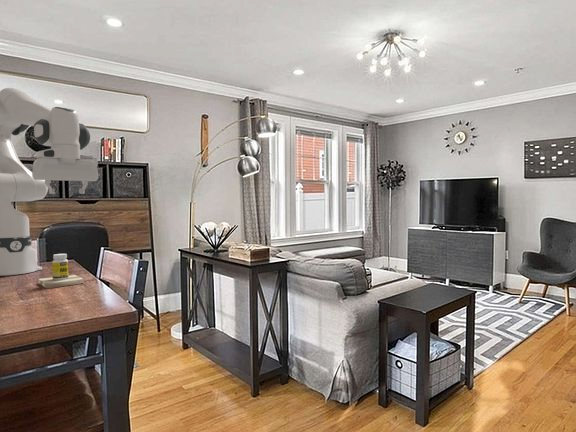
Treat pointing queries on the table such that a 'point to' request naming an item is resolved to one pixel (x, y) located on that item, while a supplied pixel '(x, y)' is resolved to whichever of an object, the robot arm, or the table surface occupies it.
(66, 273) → the supplement bottle
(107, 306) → the table surface
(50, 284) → the ash board
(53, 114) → the robot arm
